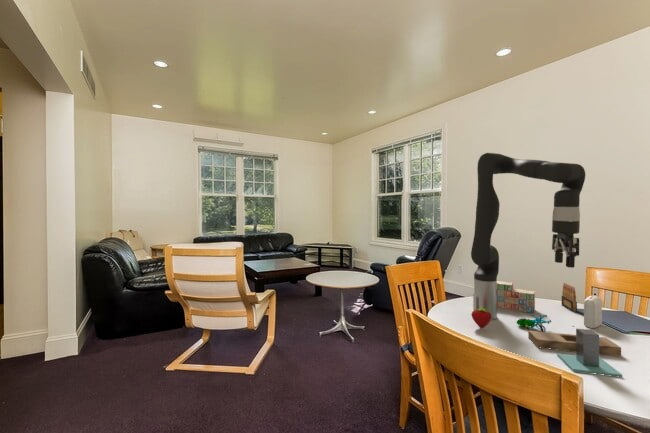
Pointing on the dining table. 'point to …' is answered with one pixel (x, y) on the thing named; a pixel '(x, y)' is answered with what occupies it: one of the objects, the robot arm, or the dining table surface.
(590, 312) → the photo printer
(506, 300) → the stack of blocks
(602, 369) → the teal pad
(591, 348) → the steel plug
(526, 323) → the stick construction toy
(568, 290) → the brown flat upright panel
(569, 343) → the brown slotted block
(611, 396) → the dining table surface
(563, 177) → the robot arm
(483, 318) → the strawberry
